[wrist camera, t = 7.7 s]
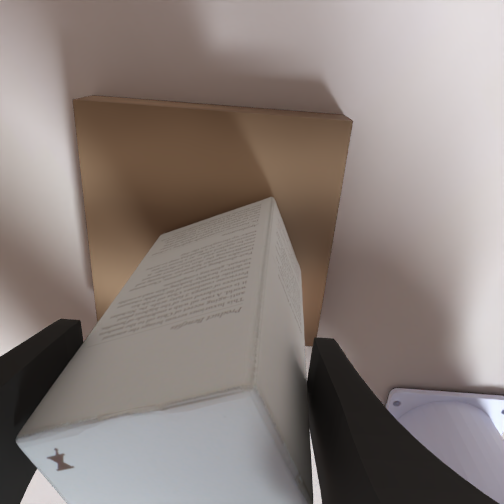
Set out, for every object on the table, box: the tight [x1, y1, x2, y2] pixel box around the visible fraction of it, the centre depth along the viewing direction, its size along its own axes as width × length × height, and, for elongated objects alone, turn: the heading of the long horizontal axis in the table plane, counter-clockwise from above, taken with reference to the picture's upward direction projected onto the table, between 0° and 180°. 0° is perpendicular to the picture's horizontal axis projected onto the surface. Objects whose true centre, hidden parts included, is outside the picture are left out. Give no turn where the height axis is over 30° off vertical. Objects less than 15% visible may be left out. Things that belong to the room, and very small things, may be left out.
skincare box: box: [16, 197, 313, 504], centre depth 15 cm, size 6×4×12 cm
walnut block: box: [73, 95, 353, 347], centre depth 21 cm, size 12×12×3 cm
